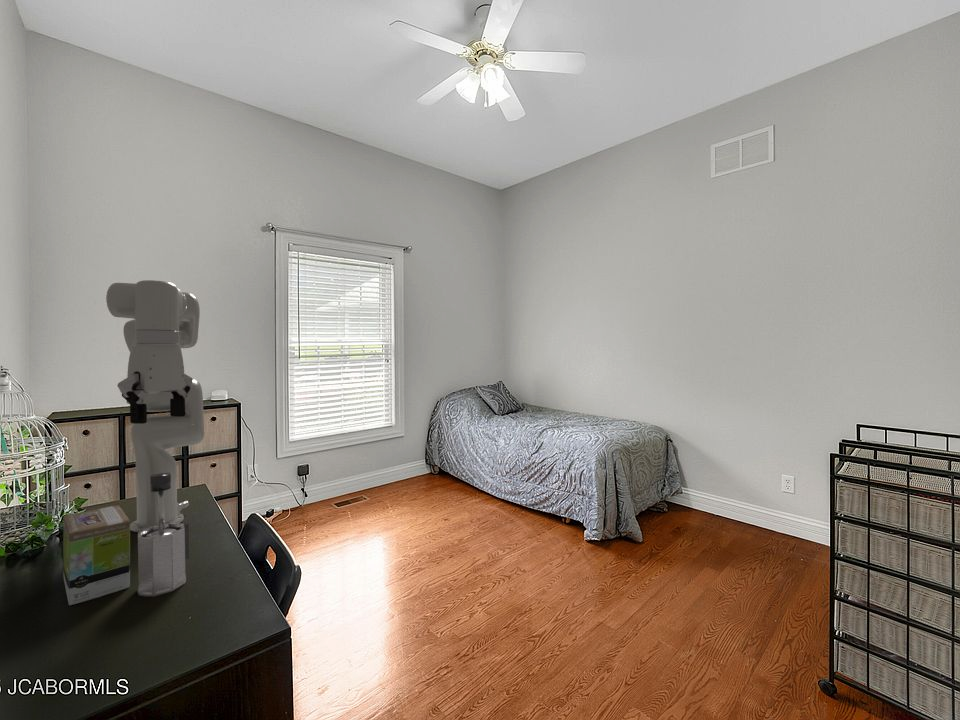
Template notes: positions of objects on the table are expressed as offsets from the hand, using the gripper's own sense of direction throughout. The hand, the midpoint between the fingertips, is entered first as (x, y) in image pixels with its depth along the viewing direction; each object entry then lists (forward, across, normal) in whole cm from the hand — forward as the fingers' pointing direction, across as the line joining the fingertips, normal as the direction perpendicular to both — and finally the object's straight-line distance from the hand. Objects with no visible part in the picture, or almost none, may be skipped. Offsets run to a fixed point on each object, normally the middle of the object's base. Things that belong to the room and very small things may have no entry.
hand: (159, 419), depth 93 cm
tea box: (+36, +1, -15) cm, 39 cm away
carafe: (+36, -1, 0) cm, 36 cm away
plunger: (+25, 0, 0) cm, 25 cm away
